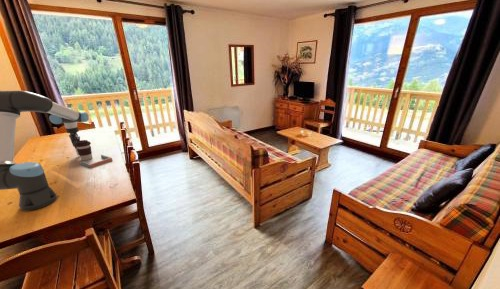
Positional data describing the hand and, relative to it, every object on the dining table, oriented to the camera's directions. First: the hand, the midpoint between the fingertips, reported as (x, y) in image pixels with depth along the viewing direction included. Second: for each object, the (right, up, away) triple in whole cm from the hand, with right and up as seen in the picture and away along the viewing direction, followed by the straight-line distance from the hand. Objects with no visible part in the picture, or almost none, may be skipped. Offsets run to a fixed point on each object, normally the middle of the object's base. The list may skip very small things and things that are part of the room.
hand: (79, 154), depth 174 cm
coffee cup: (+10, -3, -5) cm, 12 cm away
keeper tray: (+23, -5, -12) cm, 26 cm away
